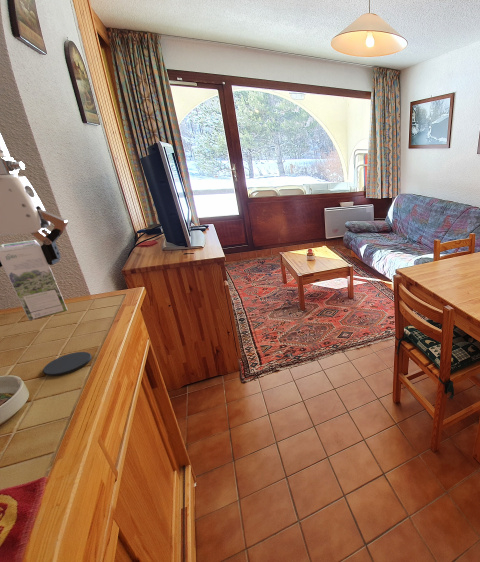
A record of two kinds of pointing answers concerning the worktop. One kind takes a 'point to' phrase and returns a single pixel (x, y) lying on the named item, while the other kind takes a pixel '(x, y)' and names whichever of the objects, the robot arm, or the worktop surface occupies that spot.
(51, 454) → the worktop surface
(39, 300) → the syrup box
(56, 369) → the coaster
